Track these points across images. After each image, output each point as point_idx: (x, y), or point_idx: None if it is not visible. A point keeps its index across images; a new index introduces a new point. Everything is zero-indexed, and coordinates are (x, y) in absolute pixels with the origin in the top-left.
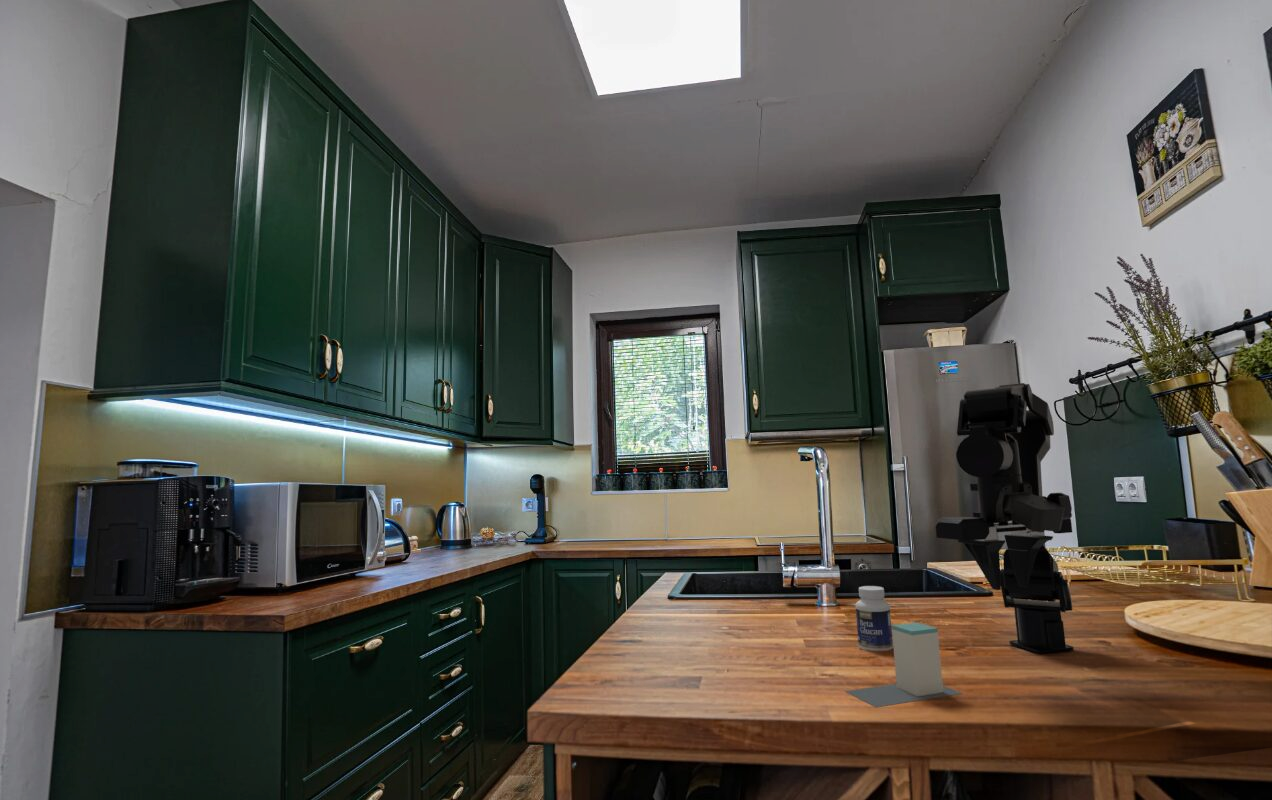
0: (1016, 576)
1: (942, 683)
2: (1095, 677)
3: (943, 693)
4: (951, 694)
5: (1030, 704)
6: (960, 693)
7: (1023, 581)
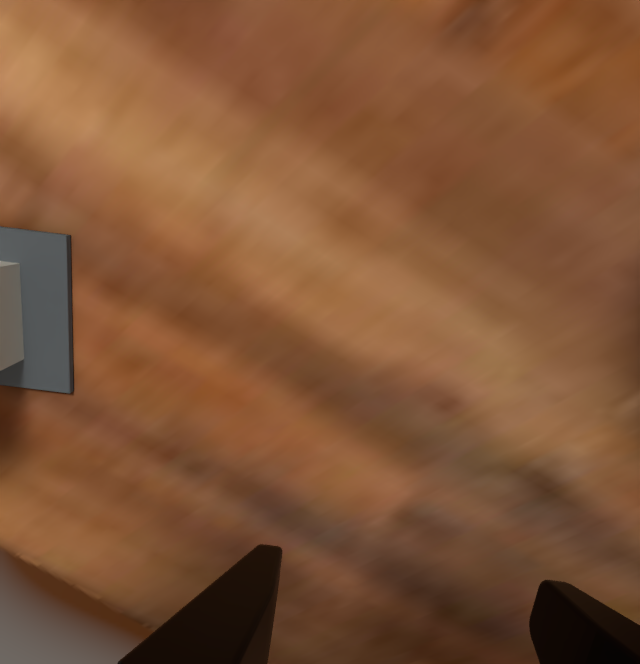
0: (587, 630)
1: (7, 366)
2: (559, 467)
3: (16, 368)
4: (31, 385)
5: (183, 515)
6: (63, 390)
7: (545, 660)
